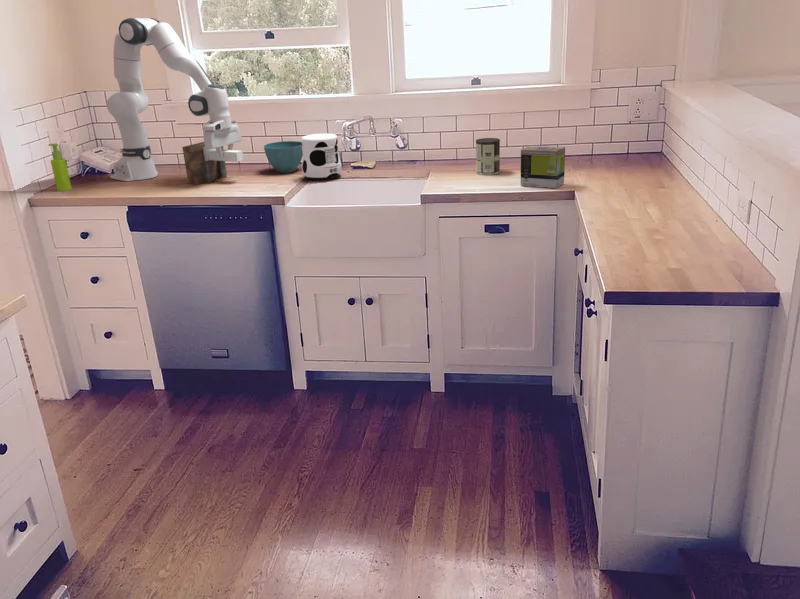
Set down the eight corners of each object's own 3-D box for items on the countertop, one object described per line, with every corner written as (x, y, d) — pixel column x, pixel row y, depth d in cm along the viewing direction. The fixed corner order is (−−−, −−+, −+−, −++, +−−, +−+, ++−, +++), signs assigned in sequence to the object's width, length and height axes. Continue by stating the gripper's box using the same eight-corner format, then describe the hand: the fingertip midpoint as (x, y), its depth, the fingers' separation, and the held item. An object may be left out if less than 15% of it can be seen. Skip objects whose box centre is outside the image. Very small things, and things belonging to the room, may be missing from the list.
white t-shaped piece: (204, 160, 309) (202, 147, 307) (216, 157, 315) (214, 144, 313) (234, 162, 301) (232, 148, 299) (246, 159, 308) (244, 145, 305)
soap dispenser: (66, 187, 314) (56, 142, 307) (74, 188, 310) (64, 143, 302) (53, 189, 310) (43, 144, 302) (61, 191, 306) (50, 145, 298)
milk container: (309, 173, 318) (305, 133, 311) (346, 173, 315) (343, 132, 308) (298, 182, 303) (293, 140, 296) (336, 182, 299) (333, 139, 293)
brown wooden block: (188, 183, 310) (182, 147, 304) (218, 173, 326) (213, 139, 320) (202, 184, 306) (196, 147, 300) (232, 175, 322) (227, 139, 316)
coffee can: (492, 169, 309) (492, 136, 304) (504, 173, 301) (504, 140, 295) (471, 171, 306) (471, 139, 301) (482, 176, 297) (482, 142, 292)
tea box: (564, 183, 278) (566, 146, 273) (556, 189, 271) (557, 151, 265) (528, 180, 286) (529, 144, 280) (519, 186, 278) (520, 148, 272)
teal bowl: (314, 168, 327) (311, 142, 323) (286, 176, 314) (283, 149, 309) (286, 165, 338) (284, 139, 333) (258, 172, 324) (255, 146, 320)
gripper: (231, 119, 312) (235, 150, 317) (199, 127, 295) (204, 159, 301) (242, 120, 309) (246, 151, 314) (210, 127, 293) (215, 160, 298)
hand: (225, 155), depth 307 cm, fingers closed on white t-shaped piece, 4 cm apart
